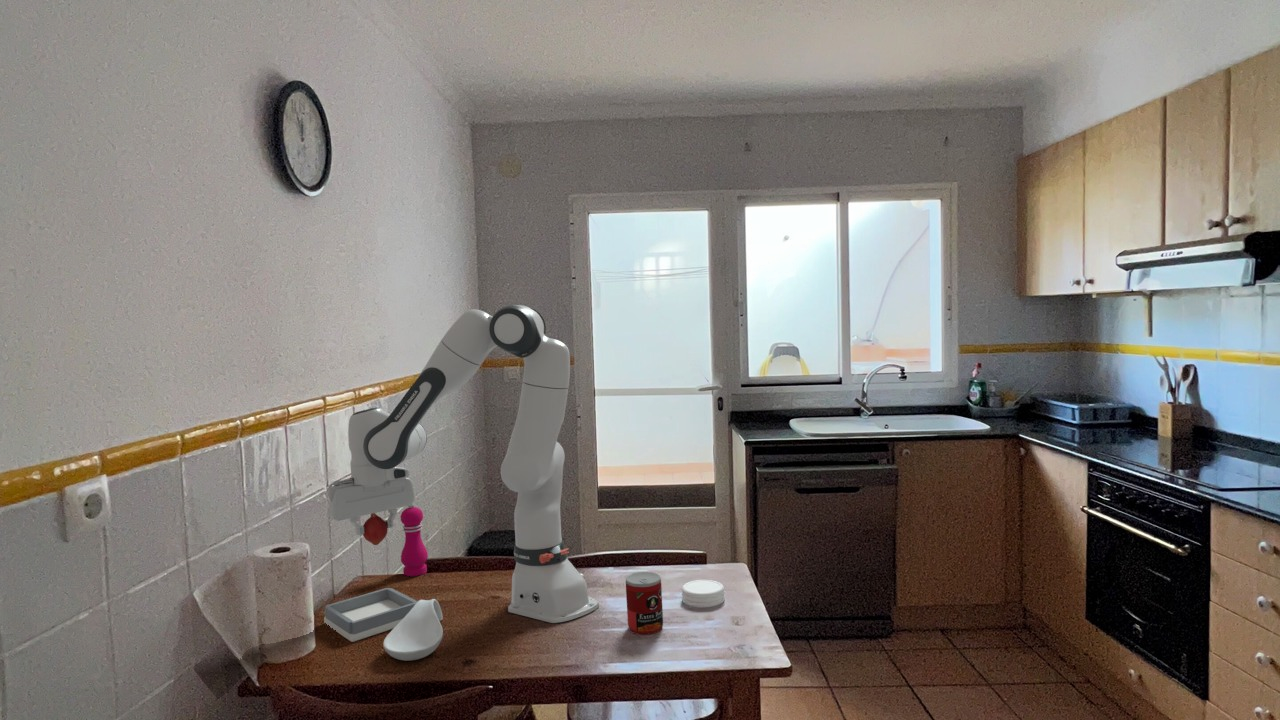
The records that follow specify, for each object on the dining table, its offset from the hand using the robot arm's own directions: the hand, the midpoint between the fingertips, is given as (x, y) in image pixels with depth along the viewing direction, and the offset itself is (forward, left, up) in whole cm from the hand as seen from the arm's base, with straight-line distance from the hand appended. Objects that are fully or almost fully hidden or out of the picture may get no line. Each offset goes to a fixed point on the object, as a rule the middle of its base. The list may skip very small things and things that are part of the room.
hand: (375, 530), depth 176 cm
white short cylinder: (-59, -53, -19) cm, 82 cm away
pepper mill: (+17, -18, -19) cm, 31 cm away
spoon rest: (-28, +4, -19) cm, 34 cm away
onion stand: (-8, +5, -19) cm, 21 cm away
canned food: (-60, -33, -19) cm, 71 cm away
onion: (0, 0, -4) cm, 4 cm away
